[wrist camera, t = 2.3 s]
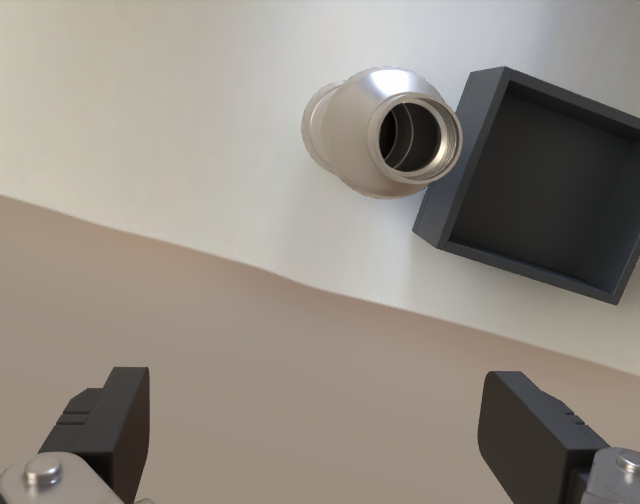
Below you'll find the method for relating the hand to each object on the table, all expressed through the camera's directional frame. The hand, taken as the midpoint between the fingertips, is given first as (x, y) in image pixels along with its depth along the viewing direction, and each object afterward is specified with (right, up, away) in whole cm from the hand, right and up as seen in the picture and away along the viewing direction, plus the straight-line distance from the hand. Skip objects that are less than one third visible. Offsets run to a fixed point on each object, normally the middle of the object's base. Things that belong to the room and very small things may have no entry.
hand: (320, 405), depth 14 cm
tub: (+16, +9, +32) cm, 37 cm away
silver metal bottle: (+2, +13, +29) cm, 32 cm away
